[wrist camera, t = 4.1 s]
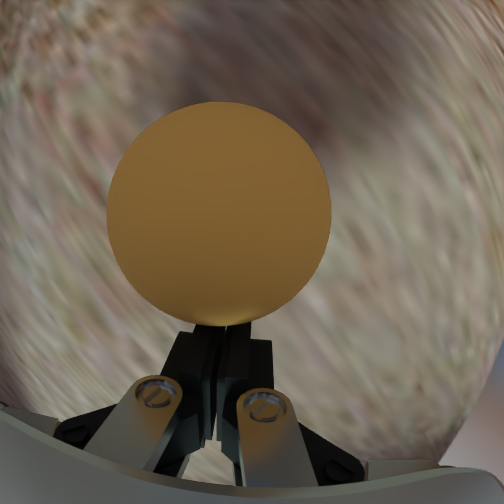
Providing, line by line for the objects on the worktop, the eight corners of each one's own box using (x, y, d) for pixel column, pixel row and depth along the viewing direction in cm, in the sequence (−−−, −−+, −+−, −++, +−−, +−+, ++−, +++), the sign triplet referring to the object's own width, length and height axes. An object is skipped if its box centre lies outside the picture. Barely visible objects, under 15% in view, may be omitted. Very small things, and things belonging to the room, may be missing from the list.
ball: (95, 356, 6) (46, 110, 4) (153, 251, 12) (151, 104, 9) (324, 379, 7) (396, 122, 4) (296, 262, 12) (318, 113, 9)
